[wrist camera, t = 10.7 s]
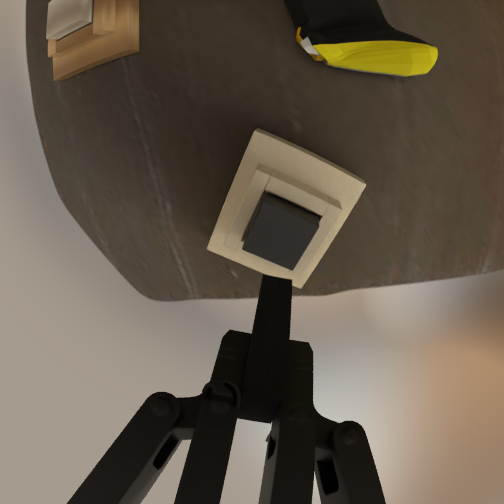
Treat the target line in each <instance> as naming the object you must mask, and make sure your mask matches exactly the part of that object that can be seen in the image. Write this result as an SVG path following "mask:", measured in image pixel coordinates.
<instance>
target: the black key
mask: <svg viewBox="0 0 504 504" xmlns="http://www.w3.org/2000/svg"><path fill="white" fill-rule="evenodd" d="M318 229H319V221H318V216H317V215H315V214H313V213H311V212H309V211H307V210H305V209H303V208H301V207H299V206H296V205H294V204H292V203H290V202H288V201H286V200H283V199H281V198H279V197H277V196H274V195H272V194H270V193H268V192H267V193H266V194H265V197H264V199H263V201H262V203H261V205H260V207H259V209H258V212H257V214H256V216H255V218H254V220H253V222H252V224H251V227H250V229H249V231H248V233H247V235H246V238H245V241H244V244H243V247H242V250H244V251H246V252H249V253H251V254H253V255H256V256H258V257H260V258H263V259H265V260H268V261H270V262H272V263H275V264H277V265H279V266H282V267H284V268H286V269H289V270H291V271H293V270H294V268H295V267H296V265H297V263H298V262H299V260H300V259H301V257H302V255H303V254H304V252H305V250H306V249H307V247H308V245H309V244H310V242H311V240H312V239H313V237H314V235H315V234H316V232H317V230H318Z"/></svg>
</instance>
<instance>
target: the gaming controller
mask: <svg viewBox="0 0 504 504" xmlns="http://www.w3.org/2000/svg"><path fill="white" fill-rule="evenodd" d="M284 1H285V3H286V6H287V8H288V10H289V12H290V15H291V17H292V19H293V22H294V24H295V26H296V29H297V35H296V41H297V42H298V43H299V45H300V46H301V47H302V48H303V49H304V50H305V51H306V52H307V53H308V54H309V55H310V56H311V57H312V58H313V59H314V60H318V61H323V62H324V63H325V64H326V65H329V66H332V67H336V68H342V69H348V70H354V71H359V72H367V73H377V74H386V75H393V76H400V77H406V76H416V75H424V74H426V73H427V72H429V71H430V69H431V68H432V67H433V65H434V64H435V62H436V60H437V56H438V50H437V48H436V47H434V46H432V45H430V44H428V43H426V42H424V41H422V40H420V39H418V38H416V37H414V36H412V35H409V34H406V33H403V32H400V31H397V30H395V29H394V28H392V27H391V26H390V25H389V24H388V23H387V21H386V19H385V18H384V16H383V13H382V11H381V9H380V6H379V4H378V2H377V0H284Z"/></svg>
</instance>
